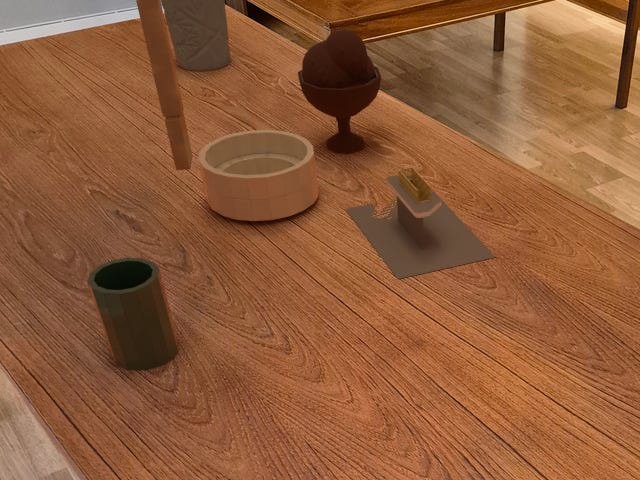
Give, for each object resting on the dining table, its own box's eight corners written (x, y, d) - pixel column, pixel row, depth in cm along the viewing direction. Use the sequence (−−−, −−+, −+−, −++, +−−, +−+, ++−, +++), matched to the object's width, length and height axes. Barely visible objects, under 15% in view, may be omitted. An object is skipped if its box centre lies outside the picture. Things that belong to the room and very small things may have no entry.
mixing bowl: (205, 229, 105) (195, 181, 101) (211, 178, 115) (201, 132, 111) (321, 221, 107) (315, 173, 103) (317, 172, 117) (311, 127, 113)
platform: (434, 191, 113) (433, 140, 109) (495, 257, 102) (496, 203, 97) (344, 208, 110) (340, 157, 105) (397, 279, 98) (394, 224, 93)
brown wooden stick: (173, 170, 88) (107, -117, 72) (176, 157, 90) (112, -125, 74) (192, 169, 88) (130, -117, 72) (194, 156, 91) (135, -125, 74)
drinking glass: (171, 74, 142) (153, -9, 134) (174, 52, 149) (157, -28, 141) (236, 70, 143) (222, -12, 135) (236, 49, 151) (223, -30, 142)
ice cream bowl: (378, 126, 128) (371, 13, 118) (389, 159, 120) (382, 41, 110) (304, 131, 126) (290, 17, 116) (310, 165, 119) (295, 46, 108)
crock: (110, 378, 84) (82, 296, 78) (118, 340, 89) (92, 259, 83) (177, 372, 85) (155, 290, 79) (182, 335, 90) (161, 254, 83)
